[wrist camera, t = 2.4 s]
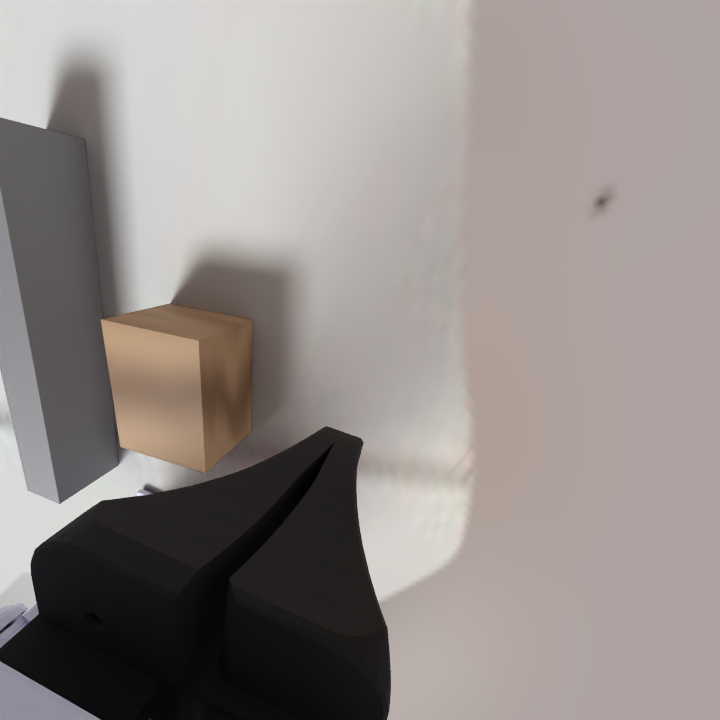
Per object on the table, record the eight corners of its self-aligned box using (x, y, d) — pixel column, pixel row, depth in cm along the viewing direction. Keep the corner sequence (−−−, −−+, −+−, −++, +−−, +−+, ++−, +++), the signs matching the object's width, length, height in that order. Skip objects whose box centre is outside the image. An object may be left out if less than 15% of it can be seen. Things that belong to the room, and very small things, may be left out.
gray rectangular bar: (121, 463, 30) (59, 503, 25) (92, 452, 31) (27, 490, 26) (89, 140, 21) (-14, 114, 17) (50, 133, 22) (-60, 106, 17)
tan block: (253, 429, 25) (205, 473, 20) (180, 410, 26) (120, 446, 21) (253, 319, 22) (198, 340, 17) (172, 303, 23) (100, 319, 19)
